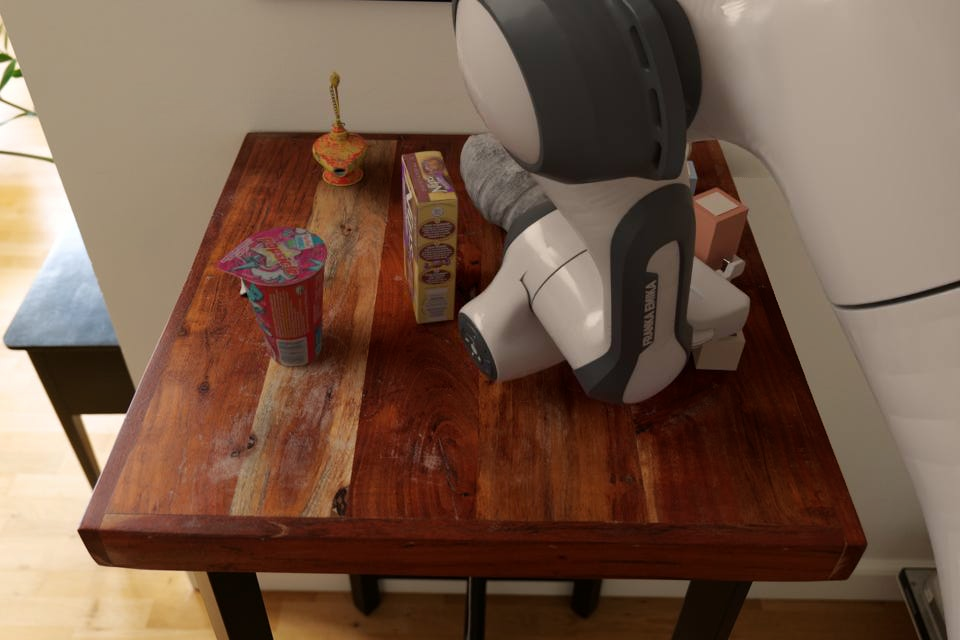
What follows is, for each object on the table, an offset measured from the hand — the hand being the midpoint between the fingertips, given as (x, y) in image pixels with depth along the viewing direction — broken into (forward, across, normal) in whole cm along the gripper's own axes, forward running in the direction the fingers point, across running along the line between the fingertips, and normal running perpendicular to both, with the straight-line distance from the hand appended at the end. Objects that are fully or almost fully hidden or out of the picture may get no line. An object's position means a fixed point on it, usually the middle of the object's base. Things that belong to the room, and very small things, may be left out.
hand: (712, 244), depth 89 cm
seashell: (-9, +21, +7) cm, 24 cm away
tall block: (-1, 0, +7) cm, 7 cm away
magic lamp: (-24, +40, +7) cm, 46 cm away
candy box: (-25, +15, +7) cm, 30 cm away
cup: (-41, +15, +7) cm, 45 cm away
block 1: (+10, +16, +7) cm, 20 cm away
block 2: (-6, -8, +7) cm, 12 cm away
